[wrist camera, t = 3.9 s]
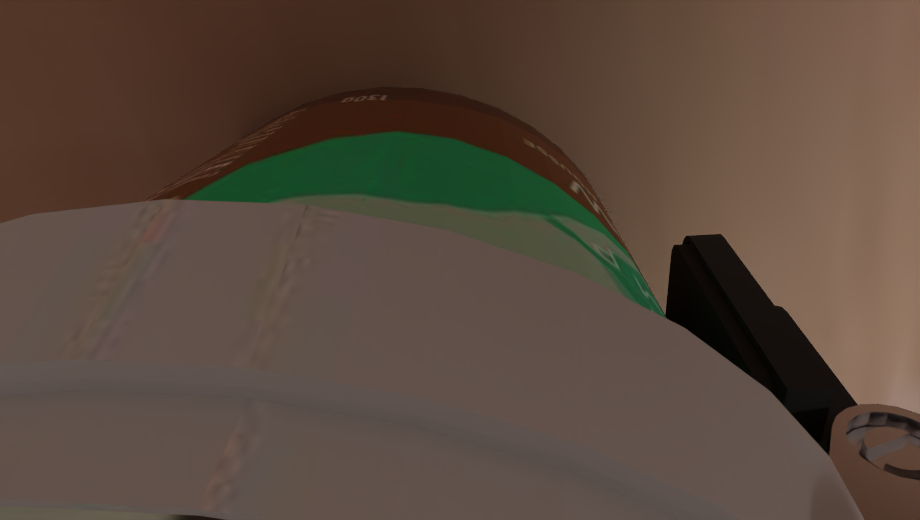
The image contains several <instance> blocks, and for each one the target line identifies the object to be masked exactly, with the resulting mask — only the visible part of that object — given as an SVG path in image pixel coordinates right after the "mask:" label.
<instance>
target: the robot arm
mask: <svg viewBox="0 0 920 520" xmlns="http://www.w3.org/2000/svg"><path fill="white" fill-rule="evenodd" d="M666 318H667V319H668V320H670V321H672V322H674V323H676V324H678V325H680V326H682V327H684V328H686V329H687V330H688V331H690V332H691V333H692V334H694V335H695V336H696V337H698V338H699V339H700V340H702V341H703V342H704V343H706V344H707V345H708V346H710V347H711V348H713V349H714V350H715V351H717V352H718V353H719V354H721V355H722V356H723V357H725V358H726V359H727V360H729V361H730V362H731V363H733V364H734V365H736V366H737V367H738V368H740V369H741V370H742V371H744V372H745V373H746V374H748V375H749V376H750V377H752V378H753V379H754V380H756V381H757V382H758V383H760V384H761V385H763V386H764V387H765V388H767V389H768V390H769V391H770V392H771V393H772V394H773V395H774V396H775V397H776V398H777V399H778V400H779V401H780V403H781V404H782V405H783V406H784V407H785V408H786V409H787V410H788V411H789V413H790V414H791V415H792V416H793V417H794V418H795V419H796V420H797V421H798V422H799V424H800V425H801V426H802V427H803V428H804V429H805V430H806V431H807V432H808V433H809V435H810V436H811V437H812V438H813V439H814V440H815V441H816V442H817V443H818V444H819V446H820V447H821V448H822V449H823V450H824V451H825V452H826V453H827V454H828V455H829V457H830V458H831V460H832V462H833V463H834V465H835V467H836V469H837V471H838V472H839V474H840V476H841V478H842V480H843V482H844V483H845V485H846V487H847V489H848V491H849V492H850V494H851V496H852V498H853V500H854V501H855V503H856V505H857V507H858V509H859V510H860V512H861V514H862V516H863V518H864V520H920V414H918V413H915V412H912V411H909V410H906V409H902V408H899V407H894V406H888V405H882V404H860V405H857V403H856V402H855V401H854V399H853V398H852V397H851V395H850V394H849V393H848V392H847V390H846V389H845V388H844V386H843V385H842V384H841V382H840V381H839V380H838V378H837V377H836V376H835V374H834V373H833V372H832V370H831V369H830V368H829V367H828V365H827V364H826V363H825V361H824V360H823V359H822V357H821V356H820V355H819V353H818V352H817V351H816V349H815V348H814V347H813V345H812V344H811V343H810V341H809V340H808V339H807V338H806V336H805V335H804V334H803V332H802V331H801V330H800V328H799V327H798V326H797V324H796V323H795V322H794V320H793V319H792V318H791V316H790V315H789V314H788V312H787V311H785V310H784V309H783V308H782V307H779V306H774V304H773V303H772V302H771V300H770V299H769V298H768V296H767V295H766V294H765V292H764V291H763V290H762V288H761V287H760V285H759V284H758V283H757V281H756V280H755V279H754V277H753V276H752V275H751V273H750V272H749V271H748V269H747V268H746V267H745V265H744V264H743V262H742V261H741V260H740V258H739V257H738V256H737V254H736V253H735V252H734V250H733V249H732V248H731V246H730V245H729V244H728V242H727V241H726V239H725V238H724V237H723V236H722V235H721V234H714V235H696V236H686V237H685V238H684V241H683V244H682V245H674V246H673V249H672V253H671V263H670V274H669V284H668V295H667V305H666Z"/></svg>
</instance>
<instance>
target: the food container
mask: <svg viewBox="0 0 920 520" xmlns="http://www.w3.org/2000/svg"><path fill="white" fill-rule="evenodd" d="M0 520H864V518H863V516H862V514H861V512H860V510H859V509H858V507H857V505H856V503H855V501H854V500H853V498H852V496H851V494H850V492H849V491H848V489H847V487H846V485H845V483H844V482H843V480H842V478H841V476H840V474H839V472H838V471H837V469H836V467H835V465H834V463H833V462H832V460H831V458H830V457H829V455H828V454H827V453H826V452H825V451H824V450H823V449H822V448H821V447H820V446H819V444H818V443H817V442H816V441H815V440H814V439H813V438H812V437H811V436H810V435H809V433H808V432H807V431H806V430H805V429H804V428H803V427H802V426H801V425H800V424H799V422H798V421H797V420H796V419H795V418H794V417H793V416H792V415H791V414H790V413H789V411H788V410H787V409H786V408H785V407H784V406H783V405H782V404H781V403H780V401H779V400H778V399H777V398H776V397H775V396H774V395H773V394H772V393H771V392H770V391H769V390H768V389H767V388H765V387H764V386H763V385H761V384H760V383H758V382H757V381H756V380H754V379H753V378H752V377H750V376H749V375H748V374H746V373H745V372H744V371H742V370H741V369H740V368H738V367H737V366H736V365H734V364H733V363H731V362H730V361H729V360H727V359H726V358H725V357H723V356H722V355H721V354H719V353H718V352H717V351H715V350H714V349H713V348H711V347H710V346H708V345H707V344H706V343H704V342H703V341H702V340H700V339H699V338H698V337H696V336H695V335H694V334H692V333H691V332H690V331H688V330H687V329H686V328H684V327H682V326H680V325H678V324H676V323H674V322H672V321H670V320H668V319H667V318H666V316H665V314H664V313H663V311H662V309H661V307H660V305H659V304H658V302H657V300H656V298H655V297H654V295H653V293H652V291H651V290H650V288H649V286H648V284H647V283H646V281H645V279H644V277H643V275H642V274H641V272H640V270H639V268H638V267H637V265H636V263H635V261H634V260H633V258H632V256H631V254H630V253H629V251H628V249H627V247H626V246H625V244H624V242H623V240H622V238H621V237H620V235H619V233H618V231H617V230H616V228H615V226H614V224H613V223H612V221H611V219H610V217H609V216H608V214H607V212H606V210H605V208H604V207H603V205H602V203H601V202H600V200H599V198H598V197H597V195H596V193H595V192H594V190H593V189H592V187H591V185H590V184H589V182H588V180H587V179H586V177H585V176H584V174H583V173H582V172H581V171H580V170H579V169H578V168H577V167H576V166H575V164H574V163H573V162H572V161H571V160H570V159H569V158H568V157H567V156H566V154H565V153H564V152H563V151H562V150H561V149H560V148H559V147H557V146H556V145H555V144H553V143H552V142H551V141H550V140H548V139H547V138H546V137H545V136H543V135H542V134H541V133H539V132H538V131H537V130H536V129H534V128H533V127H532V126H530V125H528V124H526V123H524V122H522V121H521V120H519V119H517V118H515V117H513V116H511V115H509V114H508V113H506V112H504V111H502V110H500V109H498V108H496V107H493V106H490V105H487V104H484V103H481V102H478V101H475V100H473V99H470V98H467V97H464V96H461V95H456V94H450V93H444V92H439V91H433V90H428V89H422V88H374V89H367V90H359V91H352V92H345V93H340V94H336V95H333V96H330V97H326V98H323V99H320V100H317V101H313V102H310V103H307V104H304V105H302V106H300V107H298V108H296V109H294V110H292V111H290V112H288V113H286V114H284V115H282V116H280V117H278V118H276V119H274V120H272V121H270V122H268V123H267V124H265V125H263V126H262V127H260V128H259V129H257V130H256V131H254V132H252V133H251V134H249V135H248V136H246V137H245V138H243V139H241V140H240V141H238V142H237V143H235V144H233V145H232V146H230V147H229V148H227V149H226V150H224V151H222V152H221V153H219V154H218V155H216V156H214V157H213V158H211V159H210V160H208V161H207V162H205V163H203V164H202V165H200V166H199V167H197V168H196V169H194V170H192V171H191V172H189V173H188V174H186V175H184V176H183V177H181V178H180V179H178V180H177V181H175V182H173V183H172V184H170V185H169V186H167V187H166V188H164V189H162V190H161V191H159V192H158V193H156V194H154V195H153V196H151V197H150V198H148V199H147V200H145V201H143V202H135V203H126V204H117V205H108V206H99V207H90V208H81V209H72V210H63V211H54V212H45V213H36V214H31V215H27V216H24V217H20V218H17V219H13V220H10V221H6V222H3V223H0Z"/></svg>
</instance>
